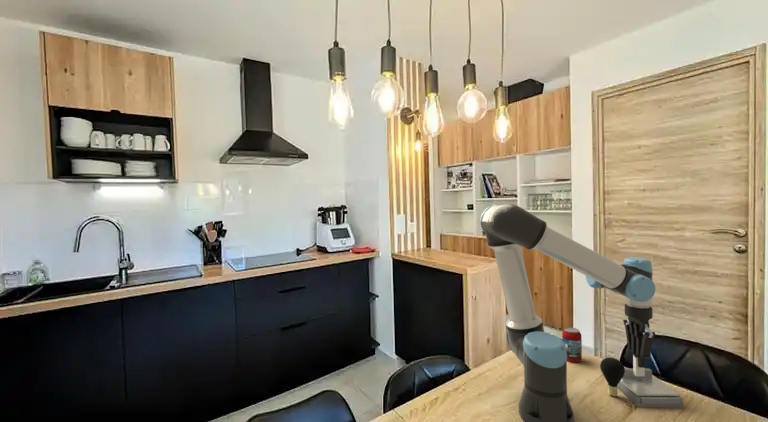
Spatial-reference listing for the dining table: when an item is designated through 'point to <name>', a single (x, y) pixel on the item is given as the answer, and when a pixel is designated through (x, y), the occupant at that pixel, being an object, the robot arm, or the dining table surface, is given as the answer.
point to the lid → (646, 384)
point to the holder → (651, 399)
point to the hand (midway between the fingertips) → (638, 375)
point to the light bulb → (612, 373)
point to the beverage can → (572, 344)
